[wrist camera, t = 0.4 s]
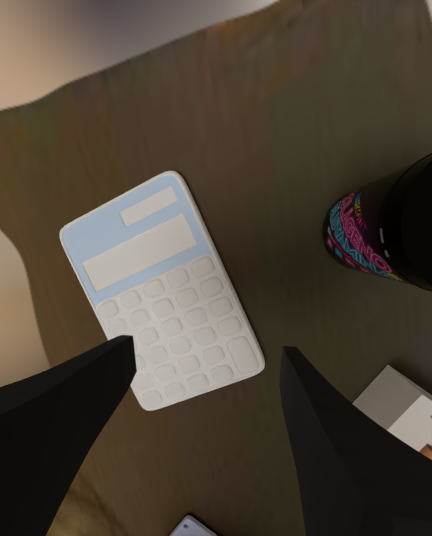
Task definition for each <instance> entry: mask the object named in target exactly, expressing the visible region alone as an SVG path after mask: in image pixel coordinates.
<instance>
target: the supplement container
mask: <svg viewBox="0 0 432 536" xmlns="http://www.w3.org/2000/svg"><path fill="white" fill-rule="evenodd" d="M323 237H324V242H325V245H326V248H327V250H328V252H329V253H330V255H331V256H332V257H333V258H334V259H335V260H336V261H337V262H338V263H340V264H341V265H343V266H345V267H347V268H350V269H353V270H357V271H361V272H364V273H368V274H372V275H376V276H380V277H384V278H387V279H391V280H395V281H399V282H403V283H406V284H410V285H414V286H417V287H419V288H422V289H425V290H428V291H432V153H431V154H429V155H427V156H425V157H423V158H422V159H420V160H418V161H417V162H415V163H413V164H411V165H409V166H407V167H404V168H402V169H400V170H398V171H396V172H394V173H391V174H389V175H387V176H385V177H383V178H381V179H378V180H376V181H374V182H372V183H370V184H368V185H366V186H363V187H361V188H359V189H357V190H355V191H353V192H350V193H348V194H347V195H345V196H343V197H342V198H341V199H339V200H338V201H337V202H336V203H335V204H334V205H333V207H332V208H331V209H330V211H329V213H328V215H327V217H326V219H325V223H324V228H323Z"/></svg>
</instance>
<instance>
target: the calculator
mask: <svg viewBox="0 0 432 536" xmlns="http://www.w3.org/2000/svg"><path fill="white" fill-rule="evenodd" d="M60 240H61V244H62V246H63V248H64V251H65V253H66V255H67V257H68V259H69V261H70V263H71V265H72V267H73V269H74V271H75V273H76V275H77V277H78V279H79V281H80V283H81V285H82V287H83V290H84V292H85V294H86V296H87V298H88V300H89V302H90V304H91V306H92V308H93V310H94V312H95V314H96V316H97V318H98V320H99V322H100V324H101V326H102V328H103V330H104V332H105V335H106V337H107V339H108V341H109V340H111V339H113V338H115V337H117V336H120V335H130V336H133V341H134V350H135V359H136V368H137V372H136V374H135V376H134V378H133V381H132V383H131V385H130V386H131V388H132V390H133V392H134V394H135V396H136V398H137V400H138V401H139V403H140V405H141V406H142V407H143V408H144V409H145V410H148V411H152V410H157V409H160V408H163V407H166V406H169V405H172V404H175V403H177V402H180V401H183V400H186V399H189V398H192V397H195V396H198V395H200V394H203V393H206V392H209V391H212V390H215V389H218V388H220V387H223V386H226V385H229V384H232V383H235V382H238V381H241V380H243V379H246V378H249V377H252V376H254V375H256V374H258V373H260V372H261V371H262V370H263V369H264V366H265V360H264V356H263V353H262V350H261V348H260V346H259V343H258V341H257V339H256V337H255V334H254V332H253V330H252V328H251V325H250V323H249V321H248V319H247V317H246V314H245V312H244V310H243V308H242V305H241V303H240V301H239V299H238V297H237V294H236V292H235V290H234V288H233V286H232V283H231V281H230V279H229V277H228V274H227V272H226V270H225V268H224V266H223V263H222V261H221V259H220V257H219V254H218V252H217V250H216V248H215V246H214V243H213V241H212V239H211V237H210V234H209V232H208V230H207V228H206V226H205V223H204V221H203V219H202V217H201V215H200V212H199V210H198V208H197V206H196V203H195V201H194V199H193V197H192V195H191V192H190V190H189V188H188V186H187V184H186V182H185V181H184V179H183V178H182V176H181V175H180V174H179V173H177V172H176V171H167V172H164V173H162V174H159V175H157V176H155V177H154V178H152V179H150V180H148V181H146V182H144V183H142V184H140V185H139V186H137V187H135V188H133V189H131V190H129V191H128V192H126V193H124V194H122V195H120V196H118V197H116V198H115V199H113V200H111V201H109V202H107V203H105V204H103V205H102V206H100V207H98V208H96V209H94V210H92V211H90V212H89V213H87V214H85V215H83V216H81V217H79V218H77V219H76V220H74V221H72V222H70V223H69V224H67V225H65V226H64V227H63V228H62V229H61V231H60ZM207 274H208V275H207ZM182 285H183V286H182ZM157 296H158V297H157ZM187 306H188V307H187ZM132 307H133V308H132ZM231 310H232V311H231ZM206 320H207V321H206ZM125 332H126V333H125ZM123 333H124V334H123ZM190 349H191V350H190ZM178 361H179V362H178ZM233 375H234V376H233ZM153 384H154V385H153ZM162 401H163V402H162Z"/></svg>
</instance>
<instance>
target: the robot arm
mask: <svg viewBox="0 0 432 536" xmlns="http://www.w3.org/2000/svg"><path fill="white" fill-rule="evenodd" d="M136 372H137V368H136V359H135V350H134V341H133V336H130V335H120V336H117V337H115V338H113V339H111V340H109V341H107V342H105V343H103V344H101V345H99V346H97V347H95V348H93V349H91V350H89V351H87V352H85V353H83V354H81V355H79V356H77V357H74V358H72V359H70V360H68V361H66V362H64V363H62V364H60V365H57V366H55V367H53V368H51V369H49V370H46V371H44V372H41V373H39V374H36V375H34V376H31V377H28V378H26V379H23V380H20V381H18V382H14V383H12V384H8V385H5V386H3V387H0V536H46V534H47V532H48V530H49V528H50V526H51V524H52V522H53V519H54V517H55V515H56V513H57V511H58V509H59V507H60V505H61V503H62V501H63V499H64V497H65V495H66V493H67V491H68V489H69V487H70V485H71V483H72V481H73V480H74V478H75V476H76V474H77V472H78V470H79V468H80V466H81V464H82V463H83V461H84V459H85V457H86V455H87V453H88V452H89V450H90V448H91V446H92V445H93V443H94V441H95V440H96V438H97V437H98V435H99V434H100V432H101V430H102V429H103V427H104V426H105V424H106V423H107V421H108V420H109V418H110V417H111V415H112V414H113V412H114V411H115V409H116V408H117V406H118V405H119V403H120V402H121V400H122V398H123V397H124V395H125V394H126V392H127V391H128V389H129V387H130V385H131V383H132V381H133V378H134V376H135V374H136ZM280 392H281V401H282V408H283V413H284V417H285V421H286V426H287V430H288V434H289V439H290V443H291V447H292V452H293V456H294V460H295V465H296V470H297V475H298V481H299V487H300V494H301V501H302V508H303V515H304V522H305V529H306V536H432V460H431V459H430V458H428V457H426V456H425V455H423V454H421V453H420V452H418V451H417V450H415V449H414V448H412V447H411V446H409V445H408V444H406V443H404V442H403V441H401V440H400V439H398V438H397V437H396V436H394V435H393V434H391V433H390V432H389V431H387V430H386V429H384V428H383V427H382V426H380V425H379V424H377V423H376V422H375V421H373V420H372V419H371V418H369V417H368V416H367V415H366V414H364V413H363V412H362V411H361V410H359V409H358V408H357V407H356V406H354V405H353V404H352V403H351V402H350V401H348V400H347V399H346V398H345V397H344V396H343V395H342V394H341V393H340V392H338V391H337V390H336V389H335V388H334V387H333V386H332V385H331V384H330V383H329V382H328V381H327V380H326V379H325V378H324V377H323V376H322V375H321V374H320V373H319V372H318V371H317V370H316V369H315V367H314V366H313V365H312V364H311V363H310V362H309V361H308V360H307V359H306V357H305V356H304V355H303V354H302V353H301V352H300V351H299V349H298V348H297V347H289V346H282V358H281V372H280ZM169 536H217V535H216V534H215V533H213V532H212V531H211V530H209V529H208V528H207V527H205V526H204V525H203V524H201V523H200V522H199V521H197V520H196V519H195V518H193V517H192V516H190V515H187V516H186V517H185V518H184V519H183V520H182V521H181V522H180V524H179V525H178V526H177V527H176V528H175V529H174V531H173V532H172V533H171V534H170V535H169Z"/></svg>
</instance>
